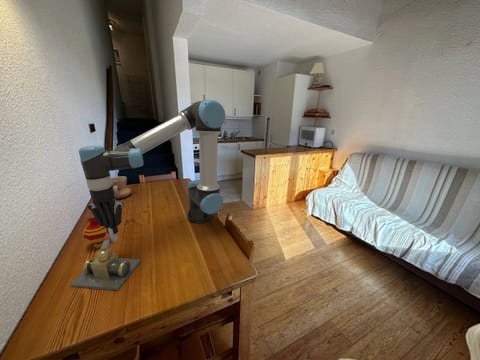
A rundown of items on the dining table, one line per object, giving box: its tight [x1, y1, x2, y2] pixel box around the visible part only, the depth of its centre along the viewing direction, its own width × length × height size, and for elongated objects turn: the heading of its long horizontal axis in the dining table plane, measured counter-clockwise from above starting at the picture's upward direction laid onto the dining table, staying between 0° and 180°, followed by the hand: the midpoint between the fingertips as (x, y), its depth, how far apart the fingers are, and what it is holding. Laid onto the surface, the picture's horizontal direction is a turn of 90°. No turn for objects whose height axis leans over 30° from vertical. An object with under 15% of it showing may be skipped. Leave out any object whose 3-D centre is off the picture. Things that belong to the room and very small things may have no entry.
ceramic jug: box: [111, 175, 132, 199], centre depth 140 cm, size 18×14×14 cm
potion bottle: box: [82, 213, 107, 249], centre depth 88 cm, size 10×10×15 cm
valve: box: [69, 252, 142, 291], centre depth 73 cm, size 18×14×7 cm
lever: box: [96, 233, 113, 261], centre depth 76 cm, size 15×4×3 cm, turn 23°
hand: (114, 239), depth 80 cm, fingers closed
